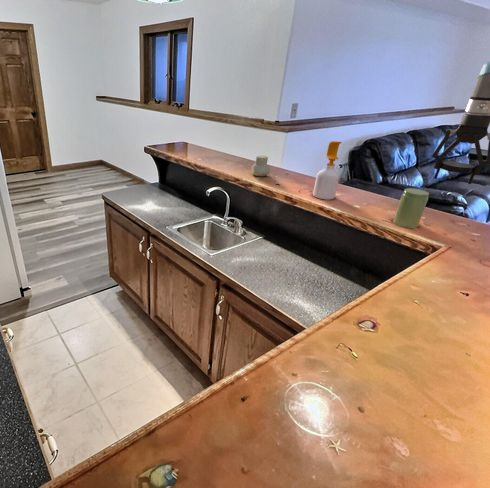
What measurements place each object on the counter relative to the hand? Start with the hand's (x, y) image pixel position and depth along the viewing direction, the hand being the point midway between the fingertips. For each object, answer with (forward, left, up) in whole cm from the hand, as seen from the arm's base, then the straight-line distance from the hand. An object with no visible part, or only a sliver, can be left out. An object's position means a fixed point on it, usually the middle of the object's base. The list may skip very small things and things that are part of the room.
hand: (451, 180), depth 125 cm
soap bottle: (+42, -4, -16) cm, 45 cm away
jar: (+9, +9, -16) cm, 21 cm away
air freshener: (+79, -19, -16) cm, 83 cm away
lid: (0, 0, +5) cm, 5 cm away
